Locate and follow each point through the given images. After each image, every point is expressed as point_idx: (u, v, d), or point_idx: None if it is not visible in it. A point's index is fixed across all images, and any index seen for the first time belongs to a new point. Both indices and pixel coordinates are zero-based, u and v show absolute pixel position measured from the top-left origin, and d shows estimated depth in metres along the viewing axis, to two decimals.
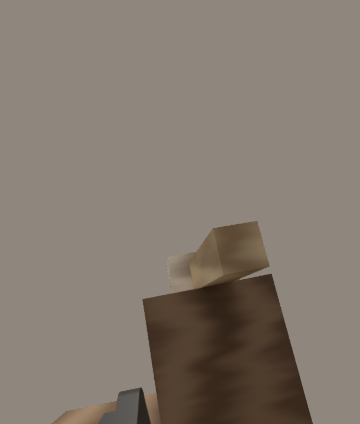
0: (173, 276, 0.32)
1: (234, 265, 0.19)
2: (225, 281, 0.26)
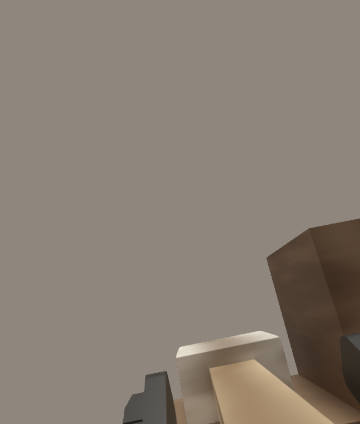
0: (183, 393, 0.20)
1: None
2: None
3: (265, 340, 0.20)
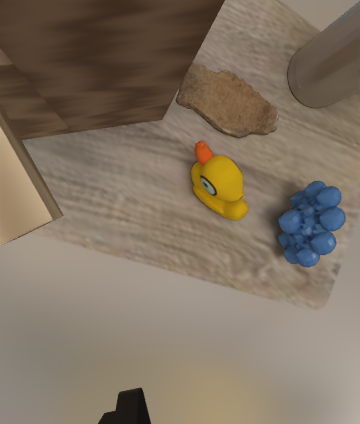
0: None
1: None
2: None
3: None
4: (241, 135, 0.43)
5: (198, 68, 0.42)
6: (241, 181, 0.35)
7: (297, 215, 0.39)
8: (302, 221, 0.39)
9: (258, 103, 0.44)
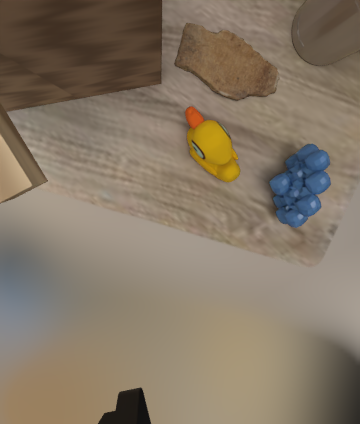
0: None
1: (21, 194, 0.24)
2: None
3: None
4: (238, 98, 0.44)
5: (196, 29, 0.42)
6: (228, 145, 0.37)
7: (286, 178, 0.41)
8: (291, 184, 0.41)
9: (258, 64, 0.44)
